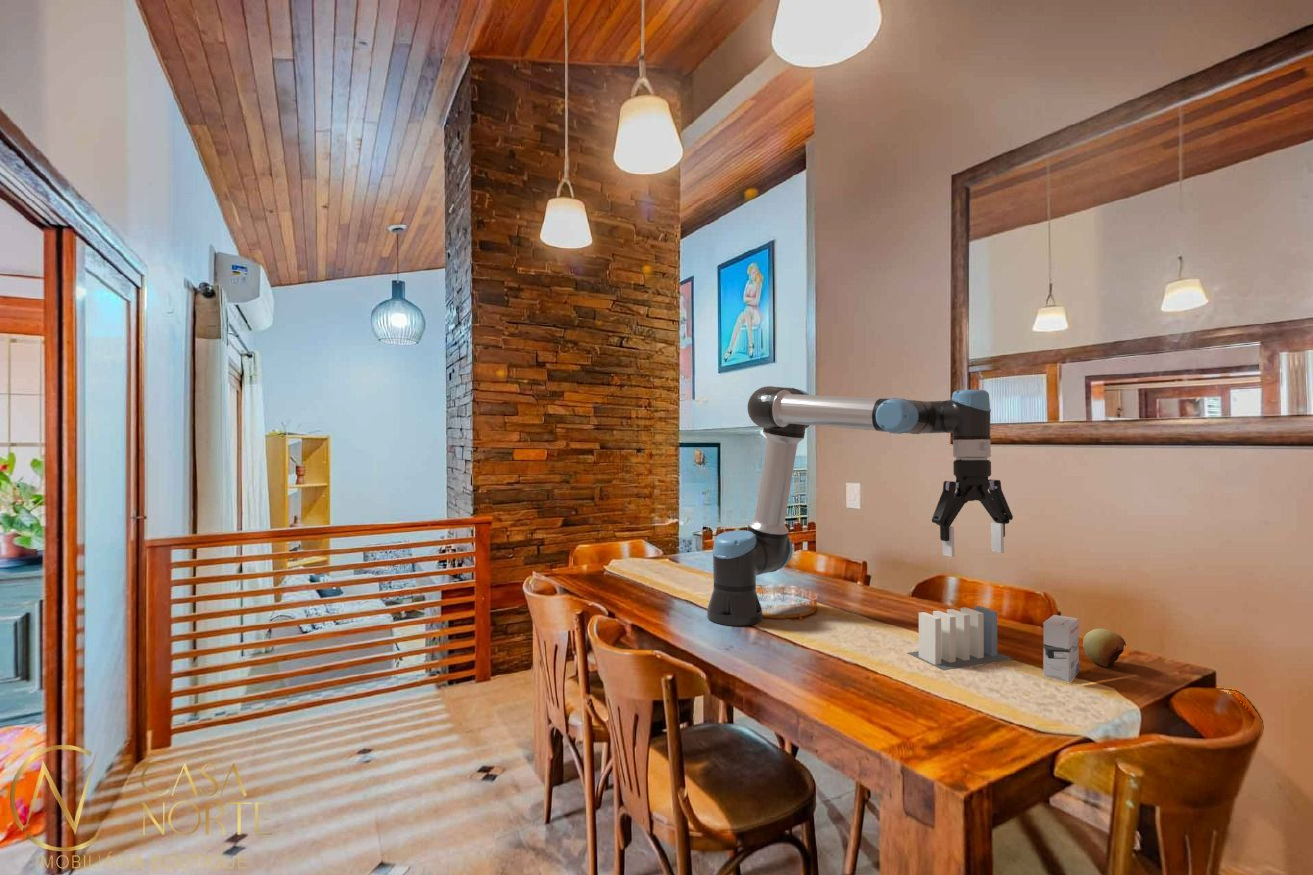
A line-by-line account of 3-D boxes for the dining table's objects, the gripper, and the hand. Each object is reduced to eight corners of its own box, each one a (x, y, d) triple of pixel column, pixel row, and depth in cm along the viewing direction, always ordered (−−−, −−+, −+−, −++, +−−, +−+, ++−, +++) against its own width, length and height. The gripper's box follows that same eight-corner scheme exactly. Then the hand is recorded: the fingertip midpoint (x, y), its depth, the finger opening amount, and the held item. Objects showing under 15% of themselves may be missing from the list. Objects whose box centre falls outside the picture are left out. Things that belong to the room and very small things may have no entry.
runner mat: (906, 654, 141) (906, 652, 141) (974, 645, 147) (974, 643, 147) (943, 672, 130) (943, 670, 130) (1014, 661, 137) (1014, 659, 137)
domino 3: (964, 660, 136) (964, 615, 136) (946, 653, 140) (946, 609, 140) (969, 659, 136) (969, 614, 136) (952, 652, 141) (952, 608, 141)
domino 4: (978, 658, 137) (978, 613, 137) (960, 651, 142) (960, 608, 142) (983, 657, 138) (983, 613, 138) (965, 650, 142) (965, 607, 142)
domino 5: (991, 656, 138) (991, 612, 138) (973, 649, 143) (973, 606, 143) (997, 655, 139) (997, 611, 139) (979, 648, 144) (979, 605, 144)
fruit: (1121, 662, 135) (1121, 626, 135) (1129, 675, 128) (1129, 637, 128) (1080, 657, 139) (1080, 622, 139) (1085, 669, 132) (1085, 632, 132)
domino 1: (935, 664, 133) (935, 619, 133) (918, 657, 138) (918, 612, 138) (941, 664, 134) (941, 618, 134) (924, 656, 138) (924, 612, 138)
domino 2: (949, 662, 134) (949, 617, 134) (932, 655, 139) (932, 611, 139) (955, 661, 135) (955, 616, 135) (938, 654, 140) (938, 610, 140)
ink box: (1052, 667, 133) (1052, 613, 133) (1080, 673, 129) (1080, 618, 129) (1042, 678, 127) (1042, 621, 127) (1070, 685, 123) (1070, 626, 123)
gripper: (938, 460, 130) (939, 560, 129) (1029, 458, 137) (1031, 553, 137) (913, 459, 137) (915, 554, 137) (1002, 457, 144) (1003, 547, 144)
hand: (973, 554), depth 137 cm, fingers open, 13 cm apart
